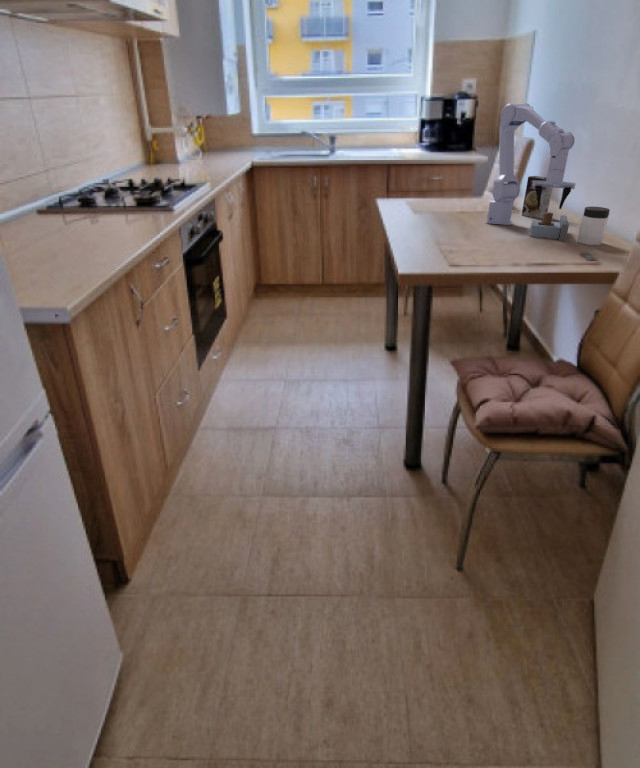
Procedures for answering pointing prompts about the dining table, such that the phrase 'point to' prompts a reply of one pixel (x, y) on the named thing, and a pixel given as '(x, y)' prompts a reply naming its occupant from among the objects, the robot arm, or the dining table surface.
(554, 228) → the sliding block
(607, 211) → the jar
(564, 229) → the wall
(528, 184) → the coffee box
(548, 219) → the dowel
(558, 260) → the dining table surface
